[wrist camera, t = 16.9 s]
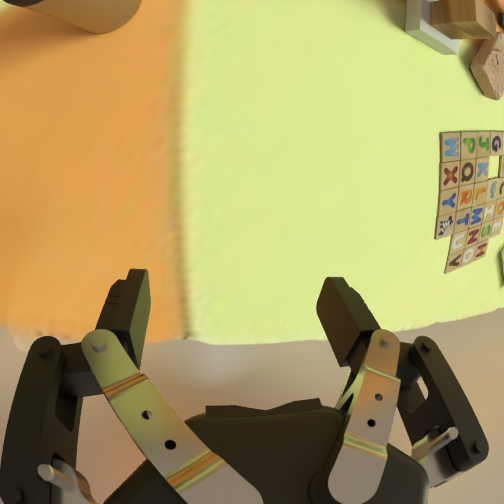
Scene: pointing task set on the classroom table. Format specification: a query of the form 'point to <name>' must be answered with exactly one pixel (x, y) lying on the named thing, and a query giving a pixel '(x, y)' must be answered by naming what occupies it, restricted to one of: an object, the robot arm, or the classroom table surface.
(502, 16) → the figurine
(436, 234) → the alphabet tiles
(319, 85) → the classroom table surface
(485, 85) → the brick
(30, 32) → the classroom table surface
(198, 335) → the classroom table surface
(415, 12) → the foundation slab
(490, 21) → the walnut block
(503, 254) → the toy tray rim
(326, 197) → the classroom table surface
